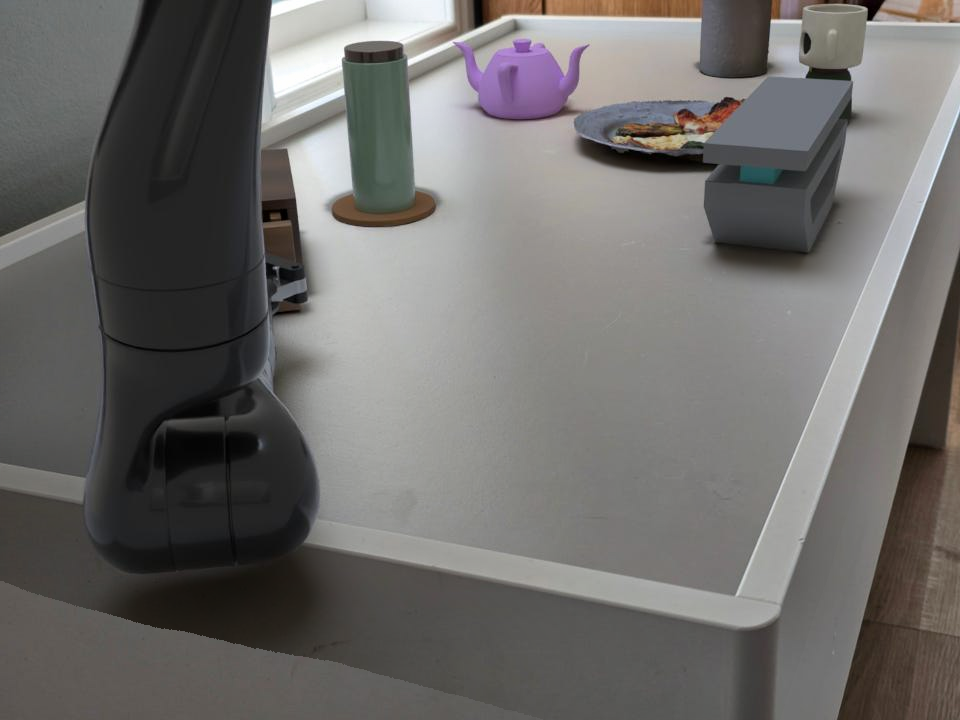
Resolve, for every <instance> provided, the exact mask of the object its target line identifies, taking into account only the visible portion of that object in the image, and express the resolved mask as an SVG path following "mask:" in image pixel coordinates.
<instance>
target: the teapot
mask: <svg viewBox="0 0 960 720" xmlns="http://www.w3.org/2000/svg"><path fill="white" fill-rule="evenodd" d="M452 43H453V44H454V45H455V46H456V47H457V48H459V50H460V51H461V52H462V55H463V58H464V62H465V72H466V78H467V81H468V83H469V85H470V87H471V88H472V89H473V90H474V91H475V92H476V93H477V101H478V104H479V105H480V106H481V108H482V109H483V110H484V111H485V112H486V113H487V114H488V115H489V116H492V117H495V118H497V119H505V120H534V119H540V118H542V119H543V118H547V117H551V116H554V115H556V114H558V113H559V112H560V111H561V110H562V109H563V107H564V106H565V105H566V103H567V102H568V99H569V97H570V96H571V95H572V94H573V93H574V92H575V91H576V89H577V87H578V85H579V80H580V63H581V57H582V54H583V53H584V52H585V50H586V49H587V48H588V47H590V45H591V44H585V45H581V46H578V47H575V48H574V49H573V50H572V51H571V53H570V56H569V60H568V61H569V62H568V69H567V72H566V74H565V75H564V72H563V70H562V68H561V66H560V65H559V63H558V61H557V60H556V59H555V57H554V55H553V54H552V52H551V51H550V50H549V49H548V48H546V45H545V44H544V43H543V42H536V43H534V44H533V45H532V40H531V39H530V38H517V39H513V40H512V43H513V46H512V47H504V48H501V49H498V50H497V51H496V52H494V54H493V55H492V56H491V59H490V60H489V62H488V63H487V65H486V68H485V69H484V71H483V72H482V71H481V70H480V69H479V67H478V65H477V62H476V61H477V60H476V57H475V54H474V51H473V48H472V47H471V46H470V45H468V44H466V43H464V42H459V41H452ZM531 45H532V46H531Z"/></svg>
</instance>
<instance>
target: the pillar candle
mask: <svg viewBox="0 0 960 720" xmlns="http://www.w3.org/2000/svg"><path fill="white" fill-rule="evenodd" d="M701 4H702V5H701V21H700V22H701V24H700V41H699V42H700V46H699V65H698V67H699V68H698V69H699V71H700V72H702V73H703V74H704V75H707V76H711V77H717V78H746V77H755V76H761V75H764V74H766V73H768V60H769V53H770V51H769V48H770V37H771V36H770V35H771V24H772V11H773V9H772V8H773V0H702V3H701Z"/></svg>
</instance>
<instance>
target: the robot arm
mask: <svg viewBox="0 0 960 720" xmlns="http://www.w3.org/2000/svg"><path fill="white" fill-rule="evenodd" d="M272 7H273V0H138V1H137V4H136V9H135V14H134V17H133V23H132V25H131V29H130V33H129V36H128V40H127V42H126V46H125V49H124V53H123V56H122V60H121V63H120V65H119V69H118V71H117V74H116V77H115V79H114V83H113V86H112V88H111V91H110V94H109V97H108V98H107V99H108V100H107V102H106V105H105V109H104V112H103V114H102V117H101V121H100V124H99V125H98V126H99V127H98V129H97V133H96V136H95V139H94V142H93V143H94V144H93V147H92V151H91V156H90V161H89V165H88V172H87V176H86V185H85V187H86V188H85V196H84V231H85V233H84V234H85V243H86V244H85V245H86V250H87V251H86V252H87V258H88V263H89V271H90V278H91V285H92V292H93V298H94V299H93V300H94V306H95V312H96V319H97V323H98V326H97V327H98V333H99V342H100V354H101V355H100V357H101V389H100V399H99V410H98V413H97V414H98V415H97V421H96V422H97V423H96V427H95V434H94V438H93V441H92V446H91V447H92V448H91V451H90V455H89V461H88V464H87V469H86V476H85V481H84V488H83V498H82V517H83V524H84V528H85V532H86V535H87V537H88V540H89V542H90V543H91V545H92V548H94V550H95V552H96V553H97V554H98V555H99V557H101V558H102V559H103V560H104V561H106V563H107V564H108V565H110V566H111V567H113V568H115V569H117V570H118V571H120V572H123V573H126V574H131V575H153V574H155V575H156V574H165V573H174V572H175V573H176V572H186V571H195V570H204V569H205V570H206V569H216V568H224V567H234V566H235V565H237V566H248V565H249V566H250V565H259V564H265V563H270V562H274V561H279V560H281V559H284V558H286V557H288V556H289V555H291V554H292V553H294V552H295V551H297V550H298V549H299V548H300V547H301V546H302V545H303V544H304V542H306V540H307V538H308V537H309V536H310V535H311V533H312V530H313V528H314V527H315V524H316V522H317V519H318V516H319V512H320V511H319V510H320V506H321V483H320V476H319V469H318V466H317V463H316V459H315V457H314V454H313V451H312V449H311V446H310V443H309V440H308V439H307V437H306V435H305V433H304V431H303V430H302V429H303V428H301V426H300V424H299V423H298V422H297V420H296V418H295V417H294V416H293V414H292V413H291V411H290V410H289V409H288V408H287V406H286V404H284V403H283V402H282V401H281V399H280V398H278V396H277V395H276V394H275V392H274V376H275V369H276V362H277V356H278V355H277V354H278V352H277V346H276V345H275V337H274V336H275V335H274V333H275V332H274V323H273V322H274V321H273V315H275V314H276V313H277V312H276V311H277V310H278V308H279V302H281V301H283V300H285V301H288V302H291V303H294V304H300V305H301V304H304V303H307V302H308V301H309V296H308V295H309V294H308V288H307V286H308V285H307V277H306V268H305V265H304V263H303V264H300V263H297V262H294V261H291V260H287V259H284V258H281V257H278V256H275V255H272V254H269V253H266V252H265V251H264V249H265V248H264V234H263V219H262V199H261V151H262V148H261V146H262V143H261V142H262V124H263V123H262V121H263V105H264V104H263V103H264V93H265V92H264V90H265V79H266V64H267V55H268V46H269V37H270V29H271V28H270V26H271V18H272Z"/></svg>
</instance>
